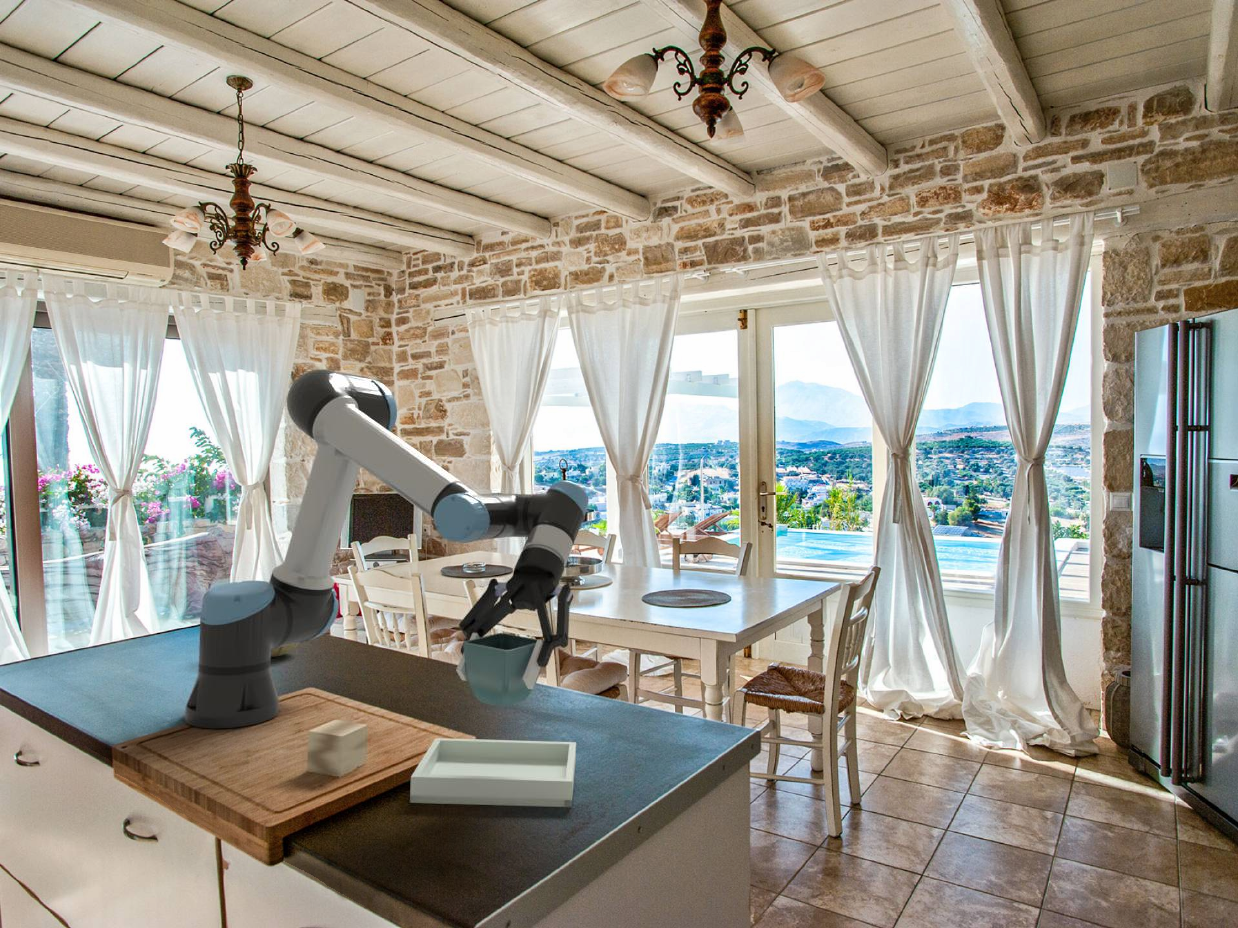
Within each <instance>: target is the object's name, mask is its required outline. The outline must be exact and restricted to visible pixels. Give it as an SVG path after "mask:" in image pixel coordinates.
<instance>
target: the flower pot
mask: <svg viewBox="0 0 1238 928" xmlns="http://www.w3.org/2000/svg"><path fill="white" fill-rule="evenodd" d="M537 640H539V639H537V638H533V637H526V636H520V635H516V634H511V633H506V632H497V633H494V634H490V635H485V636H483V637H481V638H477V639H473V640H469V641H465V640H464V641H465V642H464V641H463V642H462V645H463V647H464V658H465V667H466V674H467V678H468V679H467V681H468V684H469V686H470V689H471V691H472V693H473V694H474V696H475V697H476V699H477V700H478V702H481V703H483V704H487V705H488V704H489V705H493V706H496V707H500V708H507V707H510V706H513V705H515V704H518V703H521V702H524V701H525V700H527V699H528V697H529V696H530V694H531V693H532V691H533V690H532V689H528V688H527V686H526V684H525V682H524V680H523V676H524V674H525V671H526V668H527V666H528V663H529V660H530V658H531V655H532V653H533V650H534V647H535V645H536V642H537ZM541 640H542V641H543V642H544V639H541ZM540 673H541V670H540V671H539V674H538V677H537V679H536V682H535V685H536V683H537V681H538V678H539V676H540ZM535 685H534V687H535Z"/></svg>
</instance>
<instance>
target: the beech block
mask: <svg viewBox="0 0 1238 928" xmlns="http://www.w3.org/2000/svg"><path fill="white" fill-rule="evenodd" d="M368 727H369V726H368V724H364V723H358V722H351V721H345V720H339V719H333V720H331V721H329V722H327V723H324V724H322V725H319V726H317V727H314V728H312V729H310V730H308V737H307V739H308V741H307V757H306V758H307V759H306V761H307V763H306V771H307V772H310V773H316V774H322V775H327V776H333V777H337V776H339V777H338V778H342V777H343V775H344V774H346V775H347V773H348V772H349V773H351V772H352V771H351V770H353V769H354V768H356V767H358V766H359V765H361V764H362V763H364V762H365V761H366V762H367V751H368V747H367V746H368ZM350 771H351V772H350ZM353 771H354V770H353ZM349 773H348V774H349ZM341 776H342V777H341ZM344 776H345V775H344Z"/></svg>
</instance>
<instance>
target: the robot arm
mask: <svg viewBox="0 0 1238 928" xmlns="http://www.w3.org/2000/svg"><path fill="white" fill-rule="evenodd" d="M286 407H287V411H288V415H289V417H290V419H291V420H292V422H293V423H294V424H295V426H296V427H297V428H298V429H299V430H301V431H302V432H303V433H305V434H306V435H307V436H308V437H309V438H311V439H312V440H314V442H315V444H316V445H317V446H316V447H317V450H316V453H315V456H314V460H313V463H312V466H311V468H310V469H311V470H310V472H309V473H310V474H309V477H308V480H307V483H306V487H305V490H304V493H303V496H302V500H301V503H300V507H299V511H298V513H297V516H296V517H297V518H296V520H295V524H294V527H293V530H292V532H291V533H292V534H291V536H290V537H291V538H290V541H289V544H288V547H287V550H286V553H285V554H286V555H285V556H284V562H283V563H280V564H279V565H278V566H277V565H276V566H275V567H274V568H273V569H272V572H271V575H270V579H269V581H265V580H243V581H239V582H237V581H235V582H228V583H224V584H221V585H218V586H215V587H212V588H211V589H209V590H208V591H206V592H205V593H204V595H203V597H202V602H201V608H200V609H201V610H200V612H199V621H200V623H199V647H198V648H199V651H198V671H197V672H198V673H197V678H196V680H195V682H194V685H193V687H192V690H191V692H190V695H189V698H188V700H187V702H186V705H185V710H184V722H185V723H186V724H187V725H190V726H193V727H197V728H204V729H231V728H239V727H240V728H241V727H247V726H252V725H256V724H260V723H263V722H267V721H269V720H272V719H273V718H275V717H276V716H278V714H279V710H280V700H279V699H280V698H279V695H278V692H277V689H276V685H275V682H274V680H273V676H272V673H271V659H272V657H271V649H274V648H278V647H282V646H286V645H290V644H293V643H299V644H302V643H305V642H309V641H310V640H313V639H315V638H318V637H321V636H322V635H323V634H325V633H326V632H327V631H329V630H330V628H331V627H332V626H333V625H334V623H335V621H336V619H337V615H338V613H339V599H337V598H336V597H337V595H338V594H337V592H336V590H335V588H334V587H335V586H334V585H335V580H334V579H333V577H332V576H331V574H330V570H331V568H332V564H333V561H334V558H335V555H336V552H337V548H338V545H339V541H340V539H341V535H342V532H343V531H342V530H343V528H344V525H345V520H346V518H347V515H348V511H349V508H350V506H351V502H352V498H353V495H354V492H355V489H356V486H357V482H358V478H359V475H360V472H361V468H362V469H364V470H366V471H367V472H368V473H369V474H371V475H372V476H373V477H374V478H376V479H377V480H379V481H380V482H382V483H383V484H384V485H385V486H387V487H389V488H390V489H391V490H393V491H394V492H395V493H397V494H398V495H400V496H401V497H402V498H404V499H405V500H406V501H408V502H409V503H411V504H412V505H413V506H414V507H416V508H418V509H419V510H420V511H421V512H423V513H425V514H426V515H427V516H428V517H430V518H431V519H432V520H433V523H434V526H435V528H436V530H437V531H436V532H437V533H438V534H439V535H440V537H442V538H443V539H444V540H446V541H449V542H451V543H452V542H453V543H462V544H468V543H473V542H477V541H483V540H485V541H486V540H492V539H501V538H502V539H503V538H527V539H526V541H525V543H524V545H523V547H522V551H521V553H520V554H519V557H518V559H517V561H516V563H515V565H514V569H513V573H512V575H511V578H509V579H508V580H507V581H505V582H504V581H503V582H499V581H498V580H497V578H491V579H490V580H489V583H488V585H487V588H486V590H485V591H484V592H483V594H482V595H481V596H480V597H479V599H478V600H477V601H476V602H475V604H474V605H473V606H472V607H471V609H470V610H468V613H467V614H466V615H465V616H464V617H463V618H462V619H461V621H460V622H459V624H458V627H459V629H460V630H461V632H462V634H463V636H464V637H465V639H464V641H463V642H465V641H469V640H473V639H477V638H481V637H485V636H487V634H488V633H489V632H490V631H492V629H494V628H495V627H496V626H497V625H498V624H499V623H501V622H502V621H503V620H504V619H505V618H506V617H507V616H508V615H511V614H514V613H515V612H516V611H517V610H519V611H520V610H522V611H523V610H528V611H531V612H537V616H538V620H539V625H540V629H541V633H542V635H541V637H542V639H538V640H537V642H536V645H535V647H534V650H533V653H532V655H531V658H530V660H529V663H528V666H527V668H526V671H525V674H524V676H523V680H524V682H525V684H526V686H527V688H528V689H532V691H533V690H534V688H535V686H534V685H536V684H535V682H536V679H537V677H538V678H539V676H538V674H539V675H540V673H539V671H540V672H541V669H542V668H546V667H547V666H548V665H549V661H550V659H551V657H552V653H553V651H554V650H555V649H556V648H559V647H561V649H562V648H564V649H565V648H567V647H568V645H569V632H570V631H569V627H570V606H571V604H572V601H573V599H574V594H573V592H572V589H571V586H570V584H564V585H563V586H559V584H560V582H561V580H562V576H563V575H564V571H565V567H566V566H567V562H568V560H569V558H570V555H571V553H572V550H573V547H574V543H575V541H576V538H577V536H578V534H579V532H580V529H581V526H582V524H583V522H584V520H585V519H586V517H585V516H586V512H587V509H588V505H589V496H588V494H587V492H586V491H585V489H584V488H583V487H582V486H581V485H579V484H577V482H576V483H575V482H574V481H570V480H558V481H555V482H554V483H552V484H551V485H550V486H549V487H548V489H547V491H546V493H532V494H529V493H502V492H493V493H492V492H491V493H478V492H477V491H475V490H473V489H472V488H470V487H469V486H468V485H466V484H465V483H463V482H462V481H461V480H459V479H458V478H457V477H455V476H454V475H453V474H451V473H449V472H448V471H447V470H445V469H444V468H443V467H441V466H439V464H437V463H435V462H434V461H432V460H431V459H429V458H428V457H427V456H425V455H424V454H422V453H421V452H420V451H418V450H417V449H416V448H414V447H412V446H411V445H410V444H409V443H406V442H405V441H404V440H403V439H401V438H400V437H398V436H397V435H396V434H394V433H393V432H392V430H393V429H394V427H395V425H396V422H397V418H398V407H397V401H396V399H395V398H394V395H393V393H392V391H391V390H390V389H389V388H388V387H387V386H386V385H385V384H384V383H382V382H380V381H378V380H377V379H376V380H375V379H373V378H370V377H366V376H363V375H357V374H353V373H352V374H351V373H345V372H341V371H335V370H330V369H325V368H324V369H322V368H321V369H315V370H314V369H313V370H311V371H308V372H305V373H303V374H302V375H300V376H298V378H297V379H296V380H294V382H293V383H292V384H291V386H290V388H289V390H288V393H287V398H286ZM504 592H505V593H504ZM503 593H504V594H503ZM555 597H556V599H557V607H556V630H555V634H553V629H552V625H551V621H550V617H549V612H548V608H547V607H548V606H547V603H549V602H550V601H551V600H552V599H554V598H555ZM499 598H500V599H499ZM542 640H543V641H544V642H543V641H542ZM460 654H461V658H460V660H459V663H458V665H457V667H456V670H455V671H456V672H457V674H458V677H459V678H460V679H461V681H466V682H467V681H468V678H467V674H466V667H465V658H464V647H463V644H462V646H461V648H460ZM537 680H538V679H537ZM536 683H537V682H536Z"/></svg>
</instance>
